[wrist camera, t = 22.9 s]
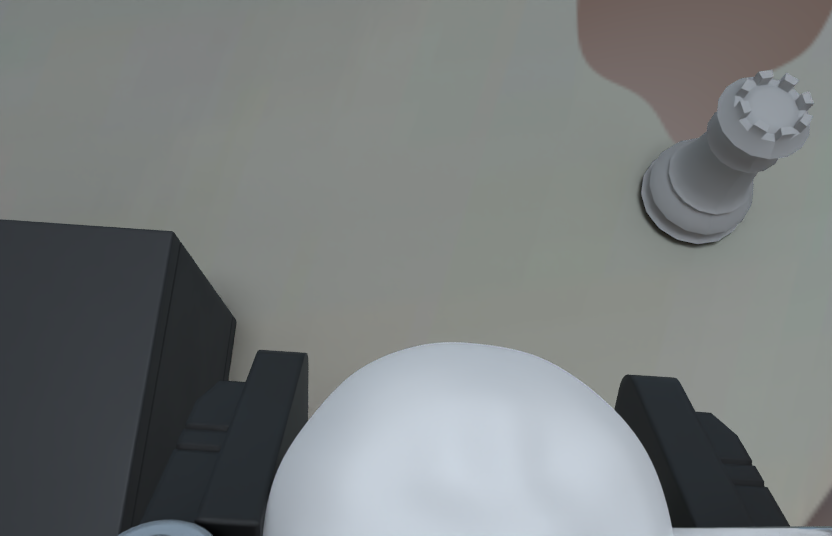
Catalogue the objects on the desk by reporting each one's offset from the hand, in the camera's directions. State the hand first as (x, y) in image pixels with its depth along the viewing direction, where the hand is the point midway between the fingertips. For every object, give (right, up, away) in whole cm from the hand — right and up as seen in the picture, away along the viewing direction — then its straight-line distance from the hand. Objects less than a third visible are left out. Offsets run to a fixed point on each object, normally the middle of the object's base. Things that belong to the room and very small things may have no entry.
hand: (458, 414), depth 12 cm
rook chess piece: (+11, +5, +22) cm, 25 cm away
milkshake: (0, -4, +4) cm, 6 cm away
